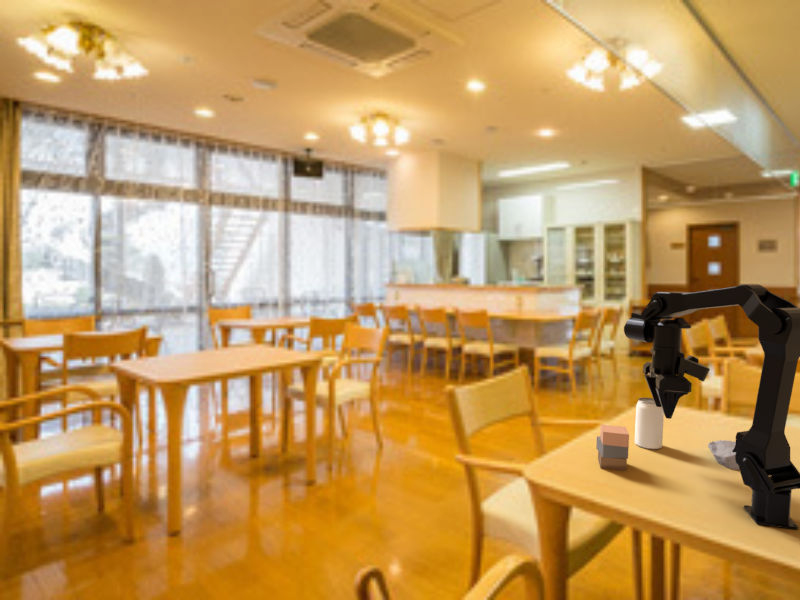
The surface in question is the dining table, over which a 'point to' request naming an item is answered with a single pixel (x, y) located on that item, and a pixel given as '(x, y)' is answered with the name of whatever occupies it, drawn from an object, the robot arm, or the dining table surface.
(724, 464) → the stone block
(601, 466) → the walnut block
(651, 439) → the can
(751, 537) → the dining table surface
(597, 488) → the dining table surface
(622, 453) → the gray block
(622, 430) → the terracotta block
